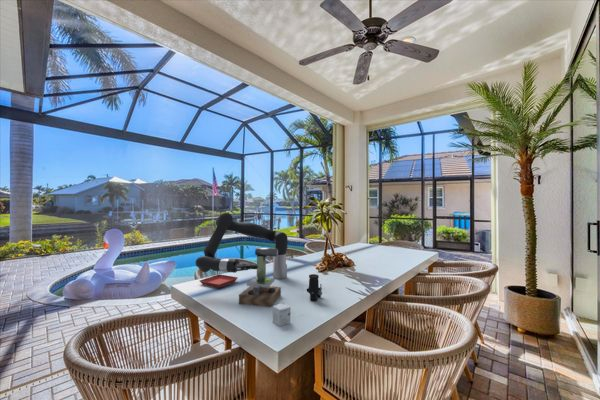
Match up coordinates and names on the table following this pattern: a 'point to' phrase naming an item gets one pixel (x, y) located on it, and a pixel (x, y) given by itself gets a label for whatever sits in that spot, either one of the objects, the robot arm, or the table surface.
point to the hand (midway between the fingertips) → (257, 267)
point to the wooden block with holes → (260, 296)
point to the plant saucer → (218, 280)
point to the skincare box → (281, 314)
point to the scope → (314, 287)
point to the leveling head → (262, 268)
